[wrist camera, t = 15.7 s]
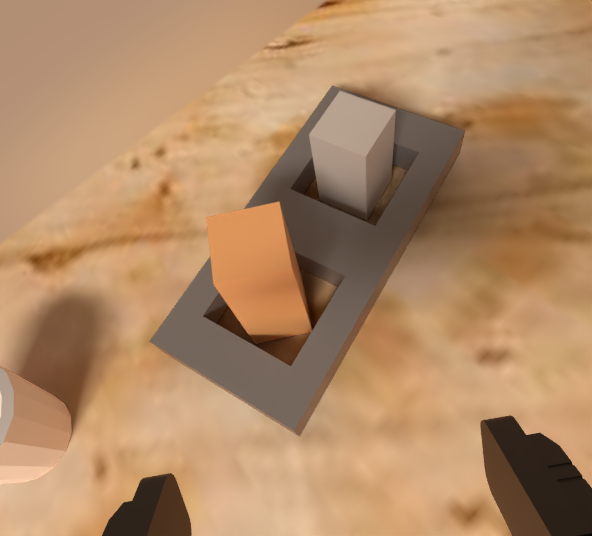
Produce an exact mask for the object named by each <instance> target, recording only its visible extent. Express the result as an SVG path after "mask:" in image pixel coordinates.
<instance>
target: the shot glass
mask: <svg viewBox="0 0 592 536" xmlns="http://www.w3.org/2000/svg"><path fill="white" fill-rule="evenodd" d="M71 434H72V427H71V415H70V413H69V411H68V409H67V407H66V405H65V403H63V402H62V401H61V400H59V399H58V398H57V397H55V396H54V395H52V394H50V393H49V392H47V391H45V390H43V389H41V388H40V387H38V386H36V385H34V384H32V383H31V382H29V381H27V380H25V379H23V378H22V377H20V376H18V375H16V374H14V373H13V372H11V371H9V370H7V369H5V368H4V367H2V366H0V484H6V483H19V482H25V481H29V480H33V479H37V478H40V477H41V476H42V475H44V474H45V473H47V472H48V471H49V470H51V469H52V468H53V467H55V465H56V464H57V463H58V461H59V460H60V459H61V457H62V456H63V454H64V453H65V452H66V449H67V446H68V443H69V440H70V437H71Z"/></svg>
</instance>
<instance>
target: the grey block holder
mask: <svg viewBox="0 0 592 536" xmlns="http://www.w3.org/2000/svg"><path fill="white" fill-rule="evenodd" d="M464 133H465V131H464V130H461V129H458V128H455V127H452V126H449V125H446V124H443V123H440V122H437V121H435V120H432V119H429V118H426V117H423V116H420V115H417V114H414V113H411V112H408V111H405V110H402V109H399V108H396V107H393V106H390V105H387V104H384V103H382V102H379V101H376V100H373V99H370V98H367V97H364V96H361V95H358V94H355V93H352V92H349V91H346V90H343V89H340V88H337V87H334V86H332V87H331V88H330V90H329V91H328V92H327V94H326V95H325V97H324V98H323V99H322V101H321V102H320V104H319V105H318V106H317V108H316V109H315V111H314V112H313V113H312V115H311V116H310V118H309V119H308V120H307V122H306V123H305V125H304V126H303V127H302V129H301V130H300V132H299V133H298V134H297V136H296V137H295V139H294V140H293V141H292V143H291V144H290V146H289V147H288V148H287V150H286V151H285V152H284V154H283V155H282V157H281V158H280V159H279V161H278V162H277V164H276V165H275V166H274V168H273V169H272V171H271V172H270V173H269V175H268V176H267V178H266V179H265V180H264V182H263V183H262V185H261V186H260V187H259V189H258V190H257V192H256V193H255V194H254V196H253V197H252V199H251V200H250V201H249V203H248V204H247V206H246V207H245V208H244V209H248V208H252V207H257V206H261V205H266V204H270V203H275V202H280V205H281V209H282V212H283V215H284V219H285V222H286V225H287V229H288V232H289V236H290V239H291V242H292V246H293V249H294V252H295V256H296V259H297V262H298V266H299V268H301V269H303V270H305V271H307V272H309V273H311V274H313V275H315V276H317V277H319V278H321V279H323V280H325V281H327V282H329V283H331V284H334V285H336V286H338V289H337V290H336V292H335V294H334V295H333V297H332V299H331V300H330V302H329V304H328V305H327V307H326V309H325V310H324V312H323V314H322V315H321V317H320V319H319V320H318V322H317V324H316V325H315V327H314V329H313V330H312V332H311V334H310V335H309V337H308V339H307V340H306V342H305V344H304V345H303V347H302V349H301V350H300V352H299V354H298V355H297V357H296V359H295V360H294V362H293V364H292V365H291V366H289V365H288V364H286V363H284V362H282V361H281V360H279V359H277V358H275V357H274V356H272V355H270V354H268V353H267V352H265V351H263V350H261V349H260V348H258V347H256V346H254V345H253V344H251V343H249V342H247V341H246V340H244V339H242V338H240V337H239V336H237V335H235V334H233V333H231V332H230V331H228V330H226V329H224V328H223V327H221V326H219V325H217V322H218V321H219V319H220V318H221V316H222V315H223V314H224V312H225V311H226V309H227V308H228V305H227V303H226V302H225V300H224V299H223V297H222V296H221V294H220V293H219V292H218V290H217V289H216V287H215V286H214V284H213V276H212V266H211V257H209V259H208V260H207V262H206V263H205V264H204V266H203V267H202V269H201V270H200V271H199V273H198V274H197V276H196V277H195V278H194V280H193V281H192V283H191V284H190V285H189V287H188V288H187V290H186V291H185V292H184V294H183V295H182V297H181V298H180V299H179V301H178V302H177V304H176V305H175V306H174V308H173V309H172V311H171V312H170V313H169V315H168V316H167V318H166V319H165V320H164V322H163V323H162V325H161V326H160V327H159V329H158V330H157V332H156V333H155V334H154V336H153V337H152V339H151V340H150V342H151V343H152V344H154V345H155V346H156V347H158V348H159V349H160V350H162V351H163V352H164V353H166V354H167V355H169V356H171V357H172V358H174V359H176V360H177V361H179V362H180V363H182V364H184V365H185V366H187V367H188V368H190V369H192V370H193V371H195V372H196V373H198V374H200V375H201V376H203V377H205V378H206V379H208V380H209V381H211V382H213V383H214V384H216V385H217V386H219V387H221V388H222V389H224V390H225V391H227V392H229V393H230V394H232V395H234V396H235V397H237V398H238V399H240V400H242V401H243V402H245V403H246V404H248V405H250V406H251V407H253V408H254V409H256V410H258V411H259V412H261V413H263V414H264V415H266V416H267V417H269V418H271V419H272V420H274V421H275V422H277V423H279V424H280V425H282V426H283V427H285V428H287V429H288V430H290V431H292V432H293V433H295V434H296V435H298V436H300V435H301V433H302V431H303V429H304V428H305V426H306V424H307V422H308V421H309V419H310V417H311V415H312V413H313V412H314V410H315V408H316V406H317V405H318V403H319V401H320V399H321V397H322V396H323V394H324V392H325V390H326V389H327V387H328V385H329V383H330V382H331V380H332V378H333V376H334V374H335V373H336V371H337V369H338V367H339V366H340V364H341V362H342V360H343V359H344V357H345V355H346V353H347V351H348V350H349V348H350V346H351V344H352V343H353V341H354V339H355V337H356V336H357V334H358V332H359V330H360V328H361V327H362V325H363V323H364V321H365V320H366V318H367V316H368V314H369V312H370V311H371V309H372V307H373V305H374V304H375V302H376V300H377V298H378V297H379V295H380V293H381V291H382V289H383V288H384V286H385V284H386V282H387V281H388V279H389V277H390V275H391V274H392V272H393V270H394V268H395V266H396V265H397V263H398V261H399V259H400V258H401V256H402V254H403V252H404V251H405V249H406V247H407V245H408V243H409V242H410V240H411V238H412V236H413V235H414V233H415V231H416V229H417V228H418V226H419V224H420V222H421V220H422V219H423V217H424V215H425V213H426V212H427V210H428V208H429V206H430V204H431V203H432V201H433V199H434V197H435V196H436V194H437V192H438V190H439V189H440V187H441V185H442V183H443V181H444V180H445V178H446V176H447V174H448V173H449V171H450V169H451V167H452V166H453V164H454V162H455V160H456V158H457V157H458V155H459V153H460V149H461V145H462V141H463V137H464ZM392 164H393V165H396V166H399V167H401V168H404V169H407V170H408V172H407V174H406V175H405V177H404V179H403V180H402V182H401V184H400V185H399V187H398V189H397V190H396V192H395V194H394V195H393V197H392V199H391V200H390V202H389V204H388V205H387V207H386V209H385V210H384V212H383V214H382V215H381V217H380V219H379V220H378V222H377V224H376V225H372V224H370V223H368V222H365V221H363V220H366V221H367V220H368V218H369V216H370V215H371V213H372V211H373V210H374V208H375V206H376V205H377V203H378V201H379V200H380V198H381V197H382V195H383V193H384V192H385V190H386V188H387V187H388V185H389V183H390V182H391V178H392ZM315 177H316V181H317V187H318V193H319V199H320V201H322V202H324V203H326V204H329V205H331V206H333V207H336V208H338V209H340V210H343V211H345V212H347V213H350V214H352V215H354V216H357V217H359V218H361V219H363V220H361V219H359V218H356V217H354V216H352V215H349V214H347V213H345V212H342V211H340V210H338V209H335V208H333V207H331V206H328V205H326V204H324V203H321V202H319V201H317V200H314V199H312V198H310V197H308V196H305V195H304V193H305V192H306V190H307V189H308V187H309V186H310V184H311V183H312V182H313V180H314V179H315Z"/></svg>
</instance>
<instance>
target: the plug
mask: <svg viewBox="0 0 592 536" xmlns="http://www.w3.org/2000/svg"><path fill="white" fill-rule="evenodd" d="M207 228H208V238H209V247H210V257H211V266H212V276H213V284H214V286H215V287H216V289H217V290H218V292H219V293H220V294H221V296H222V297H223V299H224V300H225V302H226V303H227V305H228V306H229V307H230V309H231V310H232V312H233V313H234V315H235V316H236V317H237V319H238V320H239V322H240V323H241V325H242V326H243V327H244V329H245V330H246V332H247V333H248V335H249V336H250V337H251V339H252V340H253V342H254V343H255V344H257V343H262V342H267V341H271V340H276V339H281V338H286V337H291V336H295V335H300V334H305V333H310V332H312V325H311V320H310V315H309V310H308V305H307V300H306V295H305V290H304V284H303V279H302V276H301V273H300V269H299V266H298V262H297V259H296V256H295V252H294V249H293V246H292V242H291V239H290V236H289V232H288V229H287V225H286V222H285V219H284V215H283V212H282V209H281V205H280V202H275V203H270V204H266V205H261V206H257V207H252V208H248V209H243V210H239V211H234V212H230V213H225V214H221V215H216V216H212V217H207Z"/></svg>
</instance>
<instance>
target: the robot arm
mask: <svg viewBox="0 0 592 536" xmlns="http://www.w3.org/2000/svg"><path fill="white" fill-rule="evenodd" d="M481 436H482V445H483V455H484V465H485V472H486V477H487V481H488V484H489V487H490V490H491V493H492V495H493V497H494V499H495V501H496V503H497V505H498V507H499V509H500V511H501V513H502V515H503V517H504V519H505V521H506V523H507V526H508V528H509V530H510V532H511V534H512V536H592V488H591V487H590V485H589V484H588V483H587V481H586V480H585V479H583V478H582V475H581V474H580V472H579V471H578V470H577V468H576V467H575V466H574V465H572V462H571V460H570V459H569V458H568V456H567V455H566V454H565V452H564V451H563V450H562V448H561V447H560V446H559V445H558V444H556V443H555V442H553V441H552V440H550V439H549V438H547V437H546V436H544V435H543V434H541V433H536V434H530V435H526V434H525V433H524V431H523V430H522V428H521V427H520V425H519V424H518V423H517V421H516V420H515V418H514V417H513V416H505V417H499V418H494V419H488V420H482V421H481ZM102 536H191V523H190V518H189V515H188V512H187V509H186V507H185V504H184V501H183V498H182V495H181V492H180V490H179V487H178V484H177V481H176V479H175V477H174V475H173V474H171V473H170V474H164V475H158V476H152V477H146V478H143V479H142V480H141V481H140V483H139V486H138V488H137V491H136V493H135V496H134V498H133V501H130V502H124V503H123V504H122V505H121V506H120V508H119V509H118V510H117V511H116V512H115V513H114V515H113V516H112V517H111V518H110V519H109V521H108V523H107V526H106V528H105V530H104V532H103V535H102Z"/></svg>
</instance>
